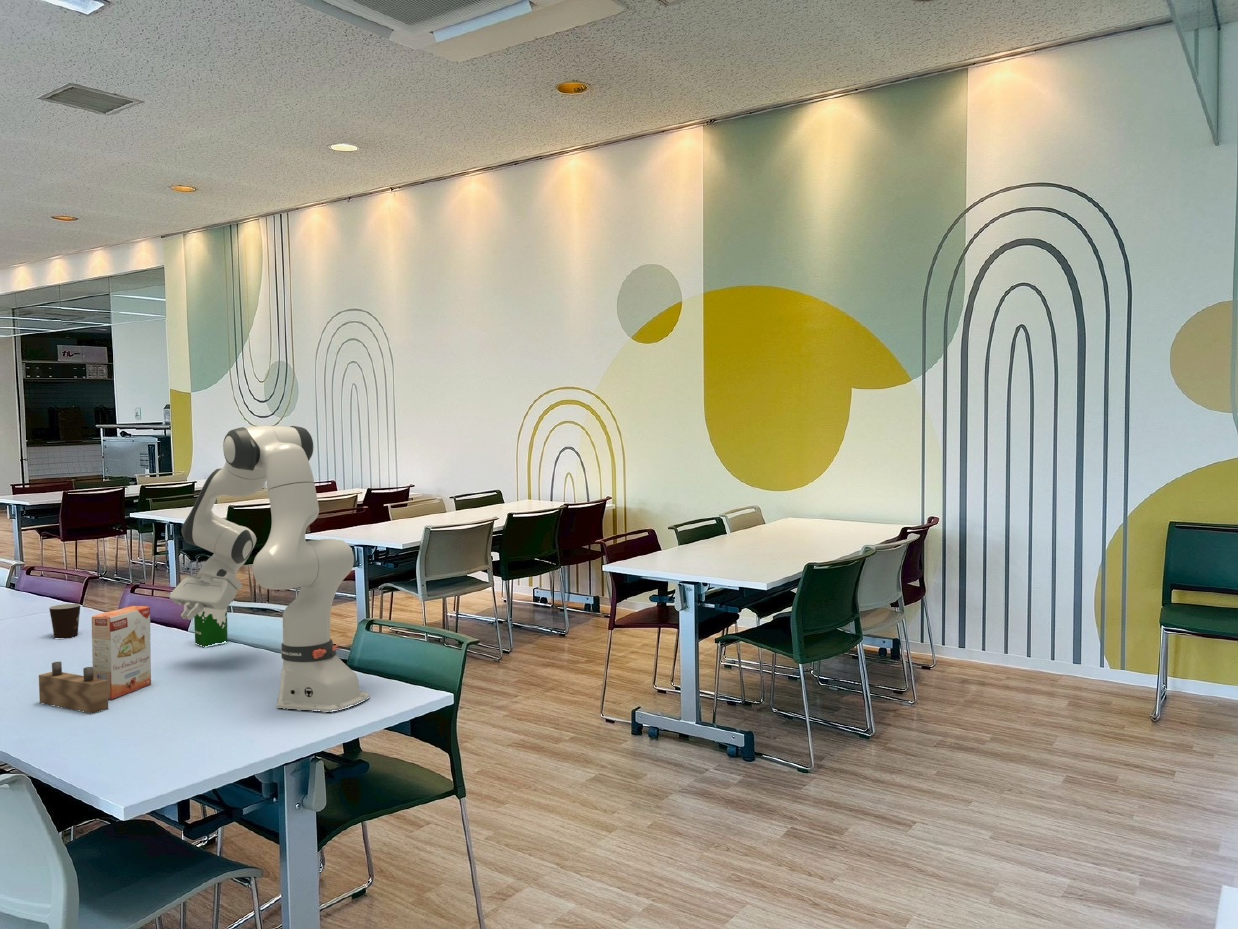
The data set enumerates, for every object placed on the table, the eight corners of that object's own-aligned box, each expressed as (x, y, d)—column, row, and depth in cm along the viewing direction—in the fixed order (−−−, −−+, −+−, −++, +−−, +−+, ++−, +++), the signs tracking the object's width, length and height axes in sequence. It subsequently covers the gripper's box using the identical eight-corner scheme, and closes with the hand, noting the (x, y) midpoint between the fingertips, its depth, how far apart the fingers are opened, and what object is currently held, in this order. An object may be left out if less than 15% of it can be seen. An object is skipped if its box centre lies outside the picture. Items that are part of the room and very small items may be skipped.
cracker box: (113, 700, 220) (110, 616, 220) (92, 699, 222) (89, 615, 221) (153, 684, 234) (151, 605, 233) (133, 683, 235) (130, 604, 235)
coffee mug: (70, 640, 285) (69, 609, 285) (44, 640, 285) (43, 609, 285) (92, 631, 297) (91, 601, 296) (67, 631, 297) (66, 602, 296)
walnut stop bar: (108, 709, 214) (107, 667, 213) (92, 714, 210) (90, 672, 210) (56, 698, 222) (54, 659, 222) (39, 703, 219) (38, 662, 218)
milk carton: (191, 644, 278) (189, 580, 277) (220, 639, 284) (218, 577, 283) (202, 649, 272) (200, 583, 271) (232, 643, 278) (230, 580, 277)
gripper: (182, 568, 255) (152, 608, 247) (233, 573, 246) (204, 615, 238) (196, 581, 259) (167, 621, 251) (247, 586, 250) (218, 628, 242)
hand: (185, 618), depth 244 cm, fingers closed
